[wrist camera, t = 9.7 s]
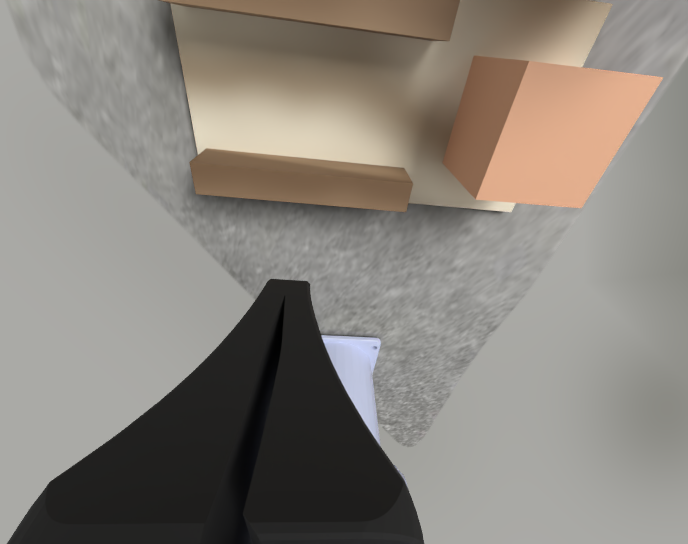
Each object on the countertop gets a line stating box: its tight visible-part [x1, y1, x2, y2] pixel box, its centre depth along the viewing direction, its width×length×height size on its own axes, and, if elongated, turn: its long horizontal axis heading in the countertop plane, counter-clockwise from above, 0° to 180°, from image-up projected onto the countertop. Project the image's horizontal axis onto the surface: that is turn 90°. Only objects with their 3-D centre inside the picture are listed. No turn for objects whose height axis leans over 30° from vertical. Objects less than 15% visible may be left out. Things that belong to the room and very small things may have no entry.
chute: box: [159, 0, 460, 212], centre depth 14 cm, size 9×11×2 cm
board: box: [170, 0, 613, 212], centre depth 15 cm, size 10×19×1 cm, turn 84°
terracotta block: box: [443, 56, 663, 208], centre depth 14 cm, size 5×5×5 cm
